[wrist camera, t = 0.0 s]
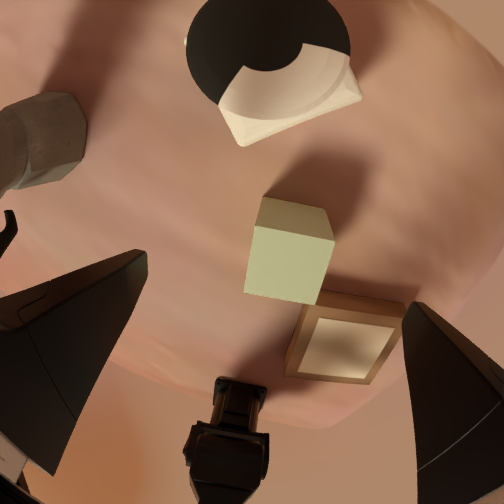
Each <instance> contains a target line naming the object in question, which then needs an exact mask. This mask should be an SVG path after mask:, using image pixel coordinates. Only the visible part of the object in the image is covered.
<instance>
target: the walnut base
mask: <svg viewBox="0 0 504 504" xmlns="http://www.w3.org/2000/svg"><path fill="white" fill-rule="evenodd" d="M406 312H407V311H406V309H405V306H404V304H403V303H398V302H392V301H386V300H379V299H373V298H367V297H361V296H355V295H349V294H343V293H338V292H332V291H326V290H320V291H319V294H318V297H317V300H316V303H315V305H310V304H304V303H303V306H302V309H301V312H300V315H299V318H298V321H297V324H296V327H295V330H294V333H293V336H292V339H291V341H290V344H289V347H288V350H287V353H286V356H285V358H284V375H283V376H286V377H293V378H300V379H308V380H317V381H326V382H337V383H349V384H363V385H369V384H370V383H371V381H372V380H373V379H374V377H375V376H376V374H377V373H378V371H379V370H380V368H381V367H382V365H383V364H384V362H385V361H386V359H387V358H388V356H389V354H390V353H391V351H392V350H393V348H394V346H395V345H396V343H397V342H398V340H399V338H400V337H401V335H402V328H401V323H402V319H403V317H404V316H405V314H406Z"/></svg>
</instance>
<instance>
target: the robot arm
mask: <svg viewBox="0 0 504 504" xmlns="http://www.w3.org/2000/svg"><path fill="white" fill-rule="evenodd" d="M147 276H148V264H147V253H146V252H145V251H143V250H138V249H133V250H130V251H127V252H124V253H122V254H119V255H116V256H113V257H110V258H108V259H105V260H102V261H99V262H97V263H94V264H91V265H89V266H86V267H83V268H81V269H78V270H75V271H73V272H70V273H67V274H65V275H62V276H60V277H57V278H54V279H52V280H51V281H47V282H44V283H42V284H39V285H36V286H34V287H31V288H28V289H26V290H23V291H20V292H17V293H14V294H11V295H8V296H5V297H2V298H0V504H44V503H43V502H41V501H40V500H38V499H37V498H35V497H34V496H32V495H31V494H30V491H29V489H28V486H27V483H26V480H25V477H24V474H23V471H22V470H23V468H24V466H25V464H26V462H27V461H29V462H30V463H32V464H33V465H35V466H36V467H38V468H39V469H41V470H43V471H44V472H46V473H48V474H49V475H51V476H54V474H55V472H56V470H57V467H58V465H59V462H60V460H61V458H62V455H63V453H64V450H65V448H66V446H67V443H68V441H69V439H70V436H71V434H72V432H73V429H74V427H75V425H76V422H77V420H78V418H79V416H80V414H81V411H82V409H83V407H84V405H85V403H86V401H87V399H88V396H89V395H90V393H91V391H92V388H93V387H94V385H95V382H96V381H97V379H98V377H99V374H100V373H101V371H102V369H103V367H104V365H105V363H106V361H107V359H108V357H109V355H110V353H111V352H112V350H113V348H114V346H115V344H116V342H117V340H118V338H119V337H120V335H121V333H122V331H123V329H124V328H125V326H126V324H127V322H128V320H129V318H130V317H131V315H132V312H133V310H134V308H135V305H136V303H137V301H138V298H139V296H140V294H141V291H142V289H143V287H144V284H145V282H146V280H147ZM401 328H402V338H403V348H404V359H405V367H406V373H407V379H408V385H409V391H410V398H411V405H412V414H413V422H414V430H415V431H414V432H415V443H416V458H417V471H418V472H417V486H418V504H504V369H503V368H501V367H500V366H499V365H498V364H497V363H496V362H494V361H493V360H492V359H491V358H490V357H488V355H486V354H485V353H484V352H483V351H482V350H481V349H480V348H478V347H477V346H476V345H475V344H474V343H472V342H471V341H470V340H469V339H468V338H466V337H465V336H464V335H463V334H462V333H461V332H459V331H458V330H457V329H456V328H454V327H453V326H452V325H451V324H450V323H448V322H447V321H446V320H445V319H443V318H442V317H441V316H440V315H438V314H437V313H436V312H435V311H433V310H432V309H431V308H430V307H428V306H427V305H426V304H424V303H422V302H417V301H414V302H412V303H411V304H410V306H409V308H408V310H407V312H406V314H405V316H404V317H403V319H402V323H401ZM266 393H267V389H266V388H265V387H259V386H253V385H248V384H242V383H237V382H232V381H227V380H222V379H216V381H215V388H214V397H213V406H214V408H213V413H212V417H211V421H210V424H209V423H204V422H202V421H197V424H196V425H192V427H191V431H190V435H189V437H188V440H187V442H186V444H185V446H184V448H183V454H184V456H185V460H186V466H189V467H190V472H189V474H190V475H189V476H190V486H191V488H192V490H193V493H194V495H195V498H196V500H197V502H198V504H245V503H246V502H247V501H248V500H249V499H250V498H251V497H252V495H253V494H254V492H255V491H256V490H257V488H258V487H259V485H260V481H261V480H264V479H265V476H266V473H267V469H268V464H269V433H257V432H256V429H257V421H258V414H259V412H260V409H261V407H262V404H263V401H264V398H265V396H266Z"/></svg>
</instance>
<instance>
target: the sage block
mask: <svg viewBox="0 0 504 504" xmlns="http://www.w3.org/2000/svg"><path fill="white" fill-rule="evenodd" d="M335 242H336V241H335V238H334V235H333V232H332V229H331V226H330V223H329V220H328V217H327V214H326V211H325V209H323V208H318V207H314V206H309V205H304V204H299V203H294V202H289V201H284V200H279V199H274V198H269V197H262V201H261V205H260V209H259V212H258V216H257V220H256V224H255V229H254V234H253V240H252V246H251V252H250V257H249V263H248V269H247V275H246V281H245V286H244V293H249V294H254V295H260V296H265V297H270V298H276V299H281V300H287V301H292V302H298V303H304V304H310V305H315V303H316V300H317V297H318V294H319V291H320V288H321V285H322V282H323V279H324V276H325V273H326V270H327V267H328V264H329V261H330V258H331V255H332V251H333V248H334V245H335Z"/></svg>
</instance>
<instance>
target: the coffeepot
mask: <svg viewBox="0 0 504 504" xmlns="http://www.w3.org/2000/svg"><path fill="white" fill-rule="evenodd" d="M86 125H87V123H86V120H85V117H84V114H83V112H82V109H81V107H80V105H79V104H78V102H77V101H76V100H75V99H74V97H73V95H72V94H71V93H63V92H52V91H46V92H43V93H41V94H38V95H35V96H32V97H29V98H27V99H24V100H21V101H19V102H16V103H14V104H11V105H9V106H7V107H4V108H3V109H2V110H1V111H0V199H1V197H2V196H3V195H4V193H5V192H6V191H7V190H9V189H15V190H19V189H23V188H27V187H31V186H36V185H40V184H44V183H49V182H54V181H58V180H61V179H62V178H63V177H64V176H66V175H67V174H68V173H69V172H70V171H72V170H73V169H74V168H75V166H76V165H77V164H78V163H80V162H81V160H82V156H83V152H84V147H85V143H86ZM4 213H5V218H6V227H5V229H4V230H3V231H2V232H0V258H1V256H2V255H3V253H4V252H5V250H6V249H7V247H8V246H9V244H10V243H11V241H12V240H13V238H14V237H15V235H16V234H17V231H18V227H17V222H16V218H15V215H14V212H13V210H5V211H4Z"/></svg>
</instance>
